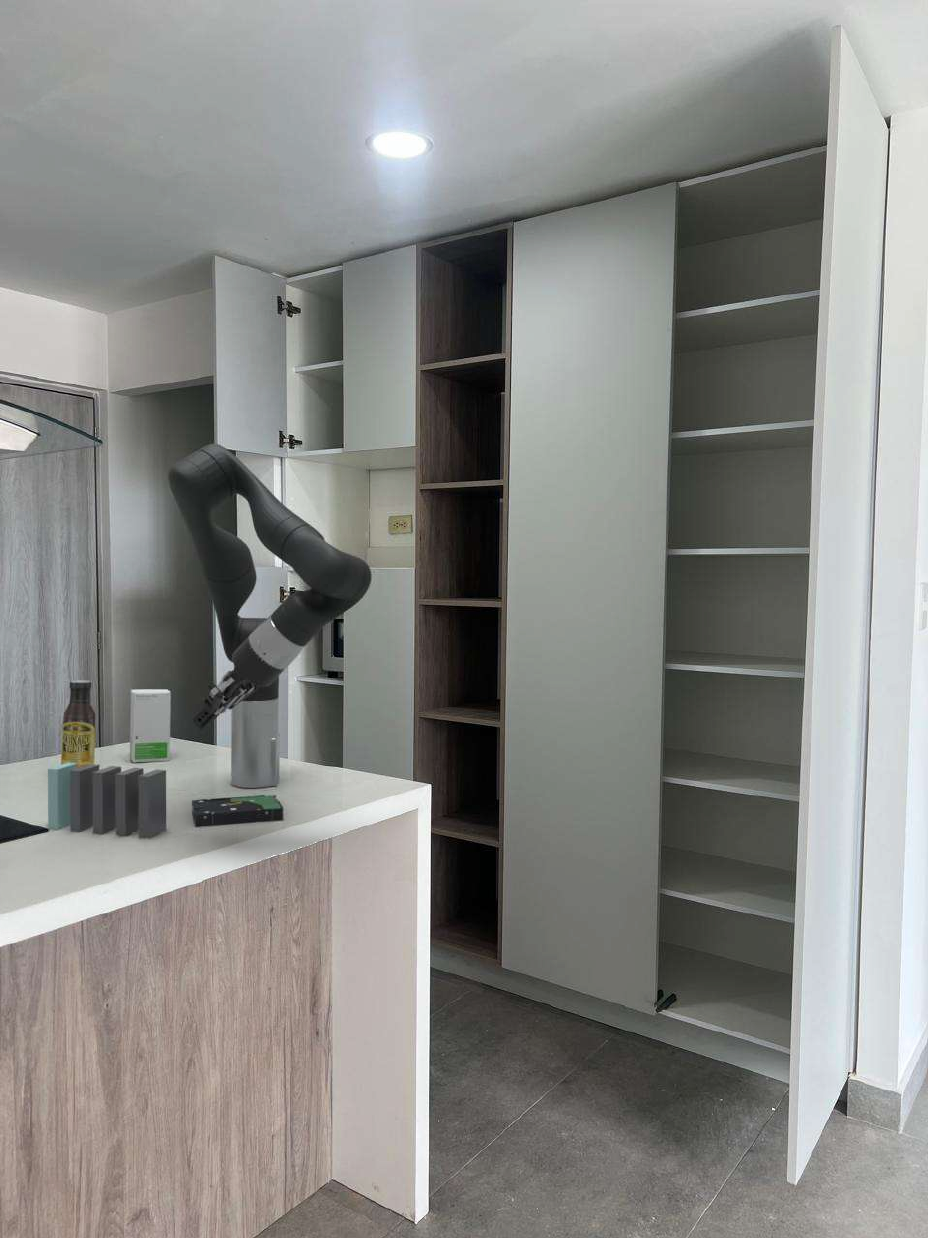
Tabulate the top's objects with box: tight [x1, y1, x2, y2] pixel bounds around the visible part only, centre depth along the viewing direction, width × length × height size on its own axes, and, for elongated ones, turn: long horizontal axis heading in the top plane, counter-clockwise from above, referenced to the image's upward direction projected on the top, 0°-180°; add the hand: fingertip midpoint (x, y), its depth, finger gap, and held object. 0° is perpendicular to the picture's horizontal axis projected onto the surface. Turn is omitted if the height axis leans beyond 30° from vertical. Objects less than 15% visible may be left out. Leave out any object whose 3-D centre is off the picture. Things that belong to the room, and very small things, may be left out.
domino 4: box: [115, 767, 145, 837], centre depth 148 cm, size 2×5×10 cm, turn 166°
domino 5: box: [138, 768, 167, 839], centre depth 147 cm, size 2×5×10 cm, turn 166°
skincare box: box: [129, 688, 172, 764], centre depth 204 cm, size 8×7×16 cm
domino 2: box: [69, 764, 100, 833], centre depth 150 cm, size 2×5×10 cm, turn 166°
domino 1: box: [47, 763, 77, 831], centre depth 151 cm, size 2×5×10 cm, turn 166°
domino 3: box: [92, 765, 122, 835], centre depth 149 cm, size 2×5×10 cm, turn 166°
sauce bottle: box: [60, 679, 96, 768], centre depth 185 cm, size 7×6×20 cm
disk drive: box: [191, 794, 284, 828], centre depth 159 cm, size 10×3×15 cm
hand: (198, 724), depth 144 cm, fingers closed
